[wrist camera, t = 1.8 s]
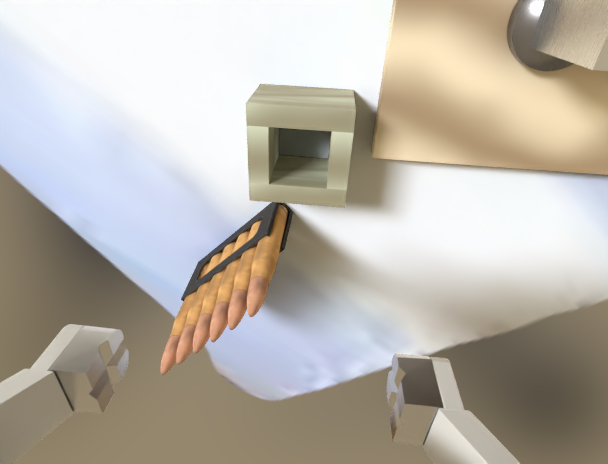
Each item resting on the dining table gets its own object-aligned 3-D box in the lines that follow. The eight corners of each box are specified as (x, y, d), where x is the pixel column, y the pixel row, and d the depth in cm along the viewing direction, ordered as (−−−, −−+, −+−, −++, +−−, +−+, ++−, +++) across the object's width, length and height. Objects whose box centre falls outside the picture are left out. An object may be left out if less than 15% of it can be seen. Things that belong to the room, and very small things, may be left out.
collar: (260, 84, 26) (245, 103, 22) (353, 90, 26) (356, 110, 22) (262, 169, 30) (249, 200, 26) (343, 175, 30) (344, 207, 26)
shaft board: (424, -205, 18) (483, -332, 11) (815, -191, 18) (1162, -315, 10) (371, 150, 28) (382, 211, 21) (620, 167, 28) (724, 237, 20)
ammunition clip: (278, 196, 31) (250, 299, 21) (294, 211, 32) (273, 318, 22) (197, 262, 36) (143, 372, 26) (212, 274, 36) (165, 386, 26)
